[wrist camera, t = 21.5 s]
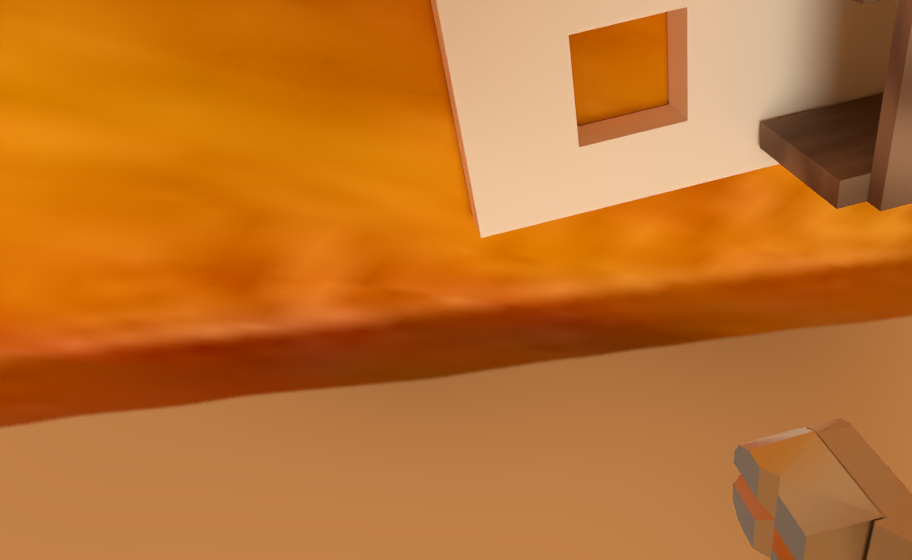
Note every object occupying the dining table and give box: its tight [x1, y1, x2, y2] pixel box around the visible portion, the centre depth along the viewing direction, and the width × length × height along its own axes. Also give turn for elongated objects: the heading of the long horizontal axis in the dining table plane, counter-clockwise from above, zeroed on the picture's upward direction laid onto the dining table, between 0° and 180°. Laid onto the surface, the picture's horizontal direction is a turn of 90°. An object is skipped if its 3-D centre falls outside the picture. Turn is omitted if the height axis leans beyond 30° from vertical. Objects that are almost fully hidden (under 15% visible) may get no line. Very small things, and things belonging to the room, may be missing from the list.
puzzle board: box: [431, 0, 898, 238], centre depth 39 cm, size 14×32×2 cm, turn 101°
